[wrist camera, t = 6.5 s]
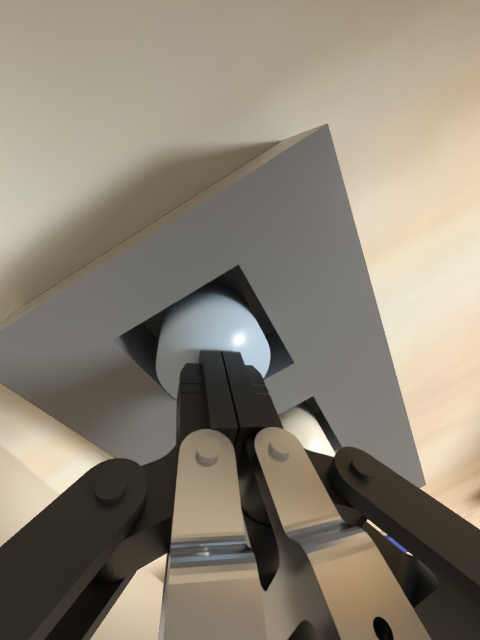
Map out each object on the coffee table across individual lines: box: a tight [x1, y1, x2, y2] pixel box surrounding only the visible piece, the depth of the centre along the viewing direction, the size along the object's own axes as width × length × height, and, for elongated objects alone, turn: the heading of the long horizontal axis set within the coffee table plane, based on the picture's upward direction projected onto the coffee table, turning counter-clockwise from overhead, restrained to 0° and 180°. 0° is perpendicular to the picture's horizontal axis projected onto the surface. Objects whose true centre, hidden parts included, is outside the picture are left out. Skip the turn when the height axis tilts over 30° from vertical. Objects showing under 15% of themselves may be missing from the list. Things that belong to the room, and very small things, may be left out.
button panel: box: [0, 124, 426, 488], centre depth 16 cm, size 26×14×4 cm, turn 30°
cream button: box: [278, 401, 335, 457], centre depth 15 cm, size 4×4×3 cm
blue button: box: [156, 282, 270, 399], centre depth 11 cm, size 4×4×3 cm
